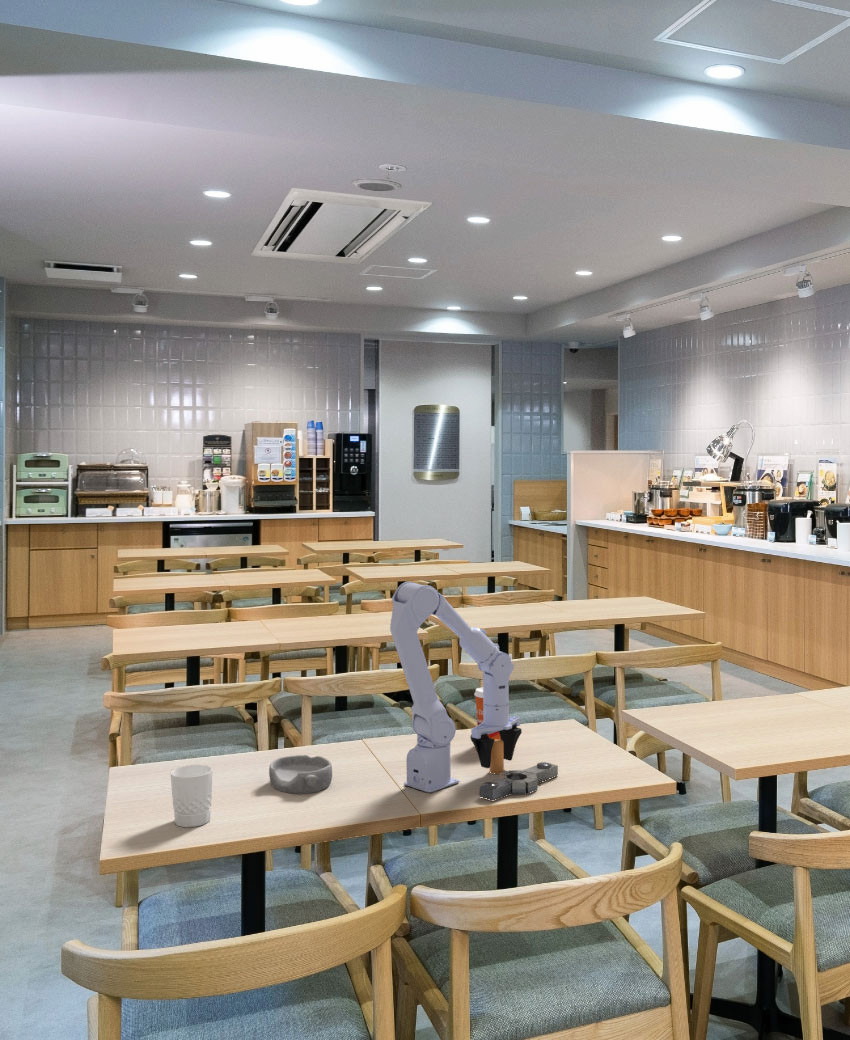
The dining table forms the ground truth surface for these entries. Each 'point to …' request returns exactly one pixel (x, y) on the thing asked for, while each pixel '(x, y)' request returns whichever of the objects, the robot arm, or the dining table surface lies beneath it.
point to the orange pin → (497, 757)
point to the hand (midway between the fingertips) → (496, 763)
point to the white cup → (191, 795)
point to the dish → (300, 774)
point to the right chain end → (529, 775)
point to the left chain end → (501, 789)
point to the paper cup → (479, 711)
